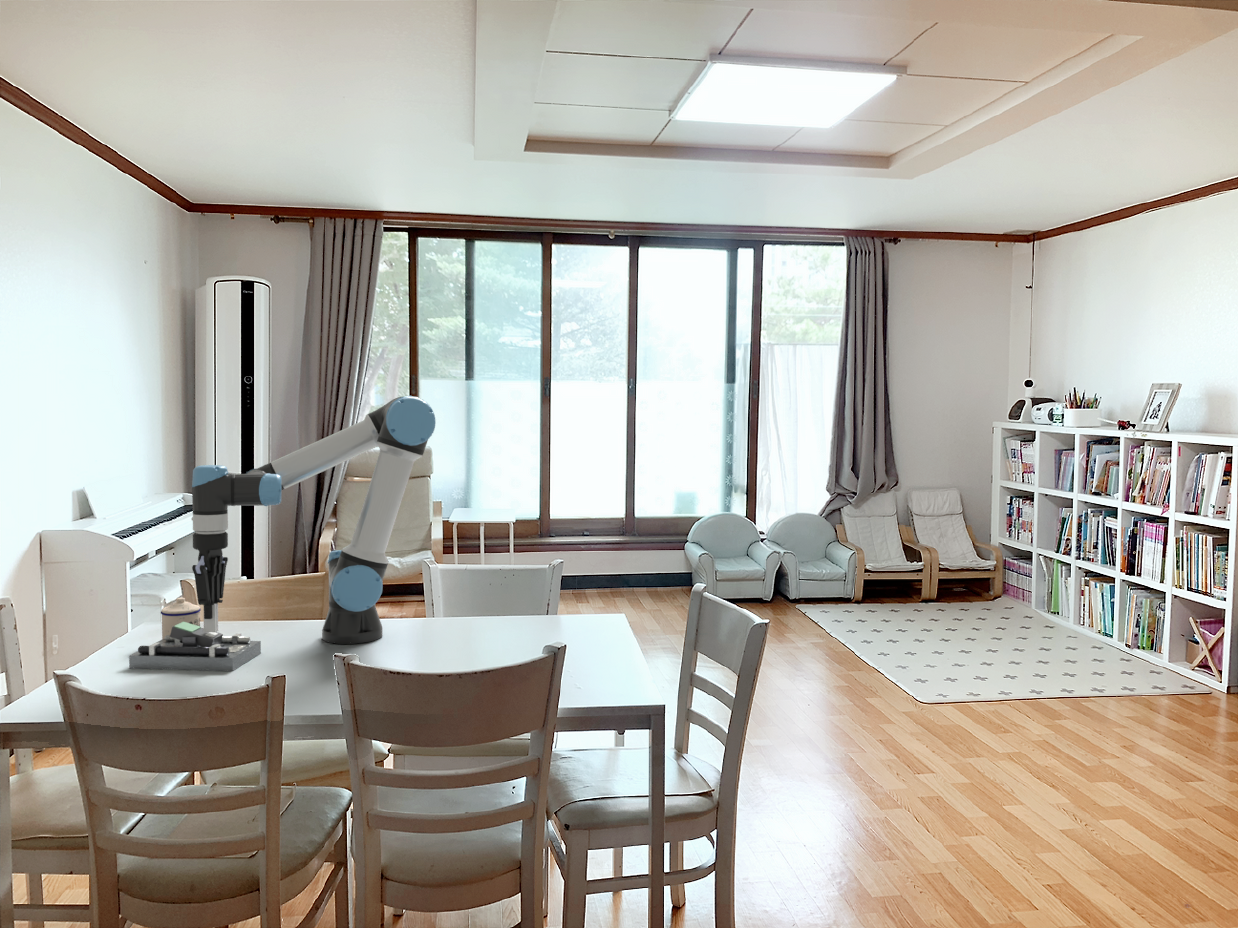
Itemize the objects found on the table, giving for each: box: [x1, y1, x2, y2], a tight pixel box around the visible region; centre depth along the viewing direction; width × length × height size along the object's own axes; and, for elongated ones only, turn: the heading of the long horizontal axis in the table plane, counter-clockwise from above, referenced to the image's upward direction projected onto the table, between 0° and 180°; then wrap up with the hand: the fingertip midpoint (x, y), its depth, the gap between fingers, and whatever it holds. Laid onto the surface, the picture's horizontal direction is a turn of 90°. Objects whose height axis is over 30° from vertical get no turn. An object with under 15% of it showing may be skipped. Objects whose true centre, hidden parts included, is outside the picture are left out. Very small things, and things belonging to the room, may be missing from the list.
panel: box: [128, 633, 262, 672], centre depth 220 cm, size 24×15×6 cm, turn 88°
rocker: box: [170, 622, 224, 647], centre depth 219 cm, size 10×5×3 cm, turn 88°
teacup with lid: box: [160, 597, 202, 640], centre depth 235 cm, size 12×9×12 cm
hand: (210, 631), depth 219 cm, fingers closed
